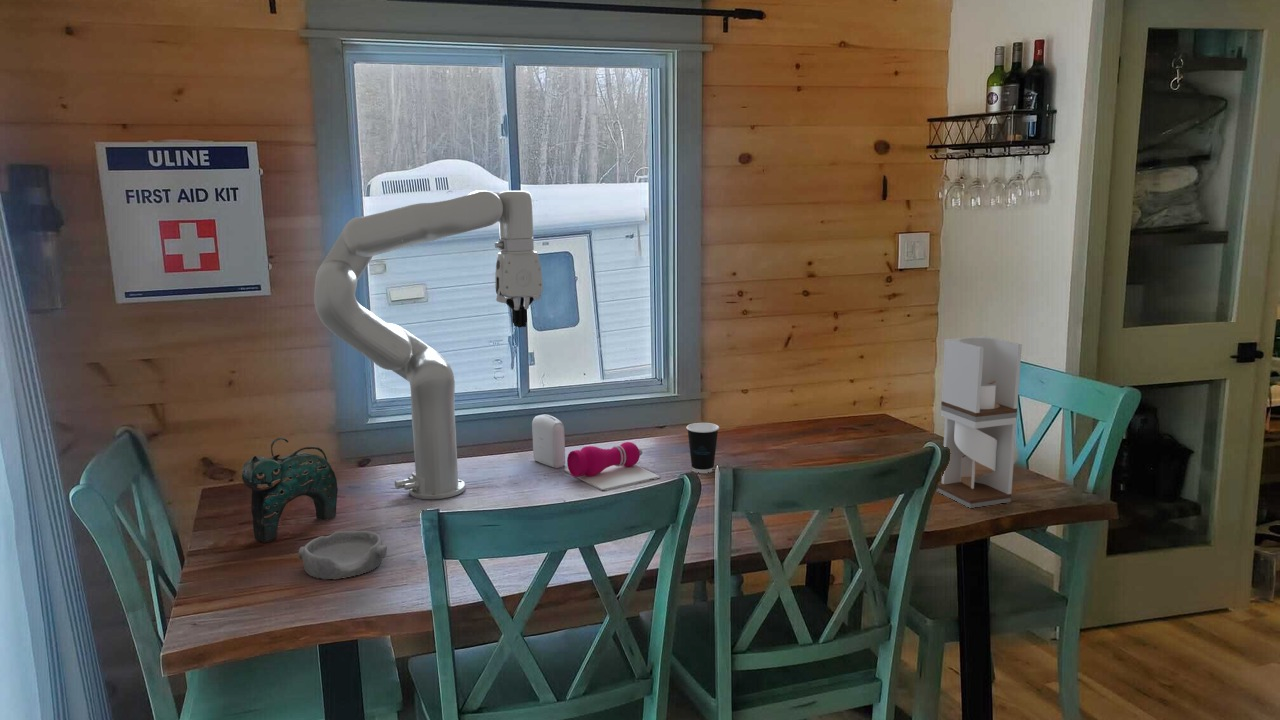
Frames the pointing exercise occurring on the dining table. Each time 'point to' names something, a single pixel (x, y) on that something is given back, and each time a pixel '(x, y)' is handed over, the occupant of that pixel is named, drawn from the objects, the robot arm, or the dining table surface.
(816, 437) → the dining table surface
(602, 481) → the mat
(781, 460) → the dining table surface
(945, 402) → the architectural model tower
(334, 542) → the dish
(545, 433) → the photo printer
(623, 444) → the pepper mill
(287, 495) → the ceramic cat
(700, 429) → the dixie cup
